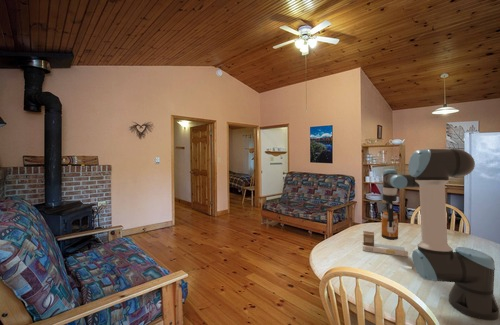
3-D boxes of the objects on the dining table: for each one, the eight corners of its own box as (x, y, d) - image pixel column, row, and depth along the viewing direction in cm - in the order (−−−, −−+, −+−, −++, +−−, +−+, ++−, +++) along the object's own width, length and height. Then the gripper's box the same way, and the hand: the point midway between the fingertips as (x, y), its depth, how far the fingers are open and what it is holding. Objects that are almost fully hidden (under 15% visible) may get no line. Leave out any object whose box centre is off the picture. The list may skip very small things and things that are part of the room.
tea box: (374, 249, 154) (374, 235, 154) (363, 247, 157) (363, 234, 156) (373, 245, 160) (373, 232, 159) (363, 244, 162) (363, 231, 162)
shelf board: (407, 258, 143) (408, 251, 143) (362, 252, 153) (362, 245, 153) (403, 249, 156) (403, 242, 156) (362, 243, 166) (362, 238, 166)
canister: (384, 240, 149) (384, 208, 148) (378, 234, 160) (378, 203, 159) (400, 241, 147) (401, 208, 146) (393, 234, 158) (394, 204, 157)
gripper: (399, 198, 140) (398, 236, 141) (394, 191, 161) (393, 224, 162) (384, 197, 143) (384, 234, 144) (381, 190, 164) (380, 222, 166)
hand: (389, 228), depth 153 cm, fingers closed on canister, 11 cm apart
